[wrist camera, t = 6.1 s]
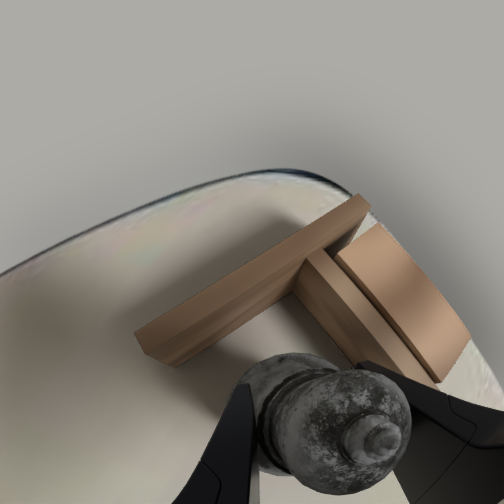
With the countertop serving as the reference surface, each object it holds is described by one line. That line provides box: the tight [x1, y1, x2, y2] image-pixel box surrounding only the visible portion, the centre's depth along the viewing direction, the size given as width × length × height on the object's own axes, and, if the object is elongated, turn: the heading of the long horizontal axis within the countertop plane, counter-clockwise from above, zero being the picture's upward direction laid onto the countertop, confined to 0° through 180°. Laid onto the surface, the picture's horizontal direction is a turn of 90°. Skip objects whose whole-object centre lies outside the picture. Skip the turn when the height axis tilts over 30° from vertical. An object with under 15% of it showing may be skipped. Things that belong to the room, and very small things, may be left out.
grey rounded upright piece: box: [227, 353, 412, 495], centre depth 8 cm, size 6×6×12 cm
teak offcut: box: [333, 223, 471, 384], centre depth 15 cm, size 10×4×2 cm, turn 35°
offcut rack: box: [134, 194, 440, 391], centre depth 14 cm, size 14×16×6 cm
